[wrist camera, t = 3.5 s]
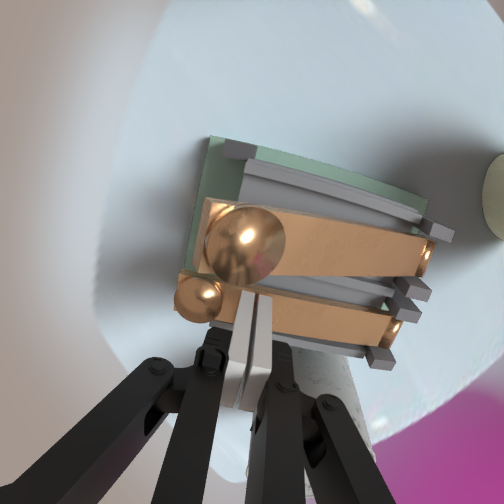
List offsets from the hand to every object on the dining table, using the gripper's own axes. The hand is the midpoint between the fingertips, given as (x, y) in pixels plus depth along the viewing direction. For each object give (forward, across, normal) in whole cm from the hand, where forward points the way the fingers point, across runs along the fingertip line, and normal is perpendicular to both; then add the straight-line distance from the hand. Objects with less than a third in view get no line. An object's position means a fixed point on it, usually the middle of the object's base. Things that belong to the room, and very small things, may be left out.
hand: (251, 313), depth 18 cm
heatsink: (+8, +3, +3) cm, 9 cm away
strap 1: (-1, +3, +6) cm, 7 cm away
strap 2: (+2, +3, 0) cm, 3 cm away
